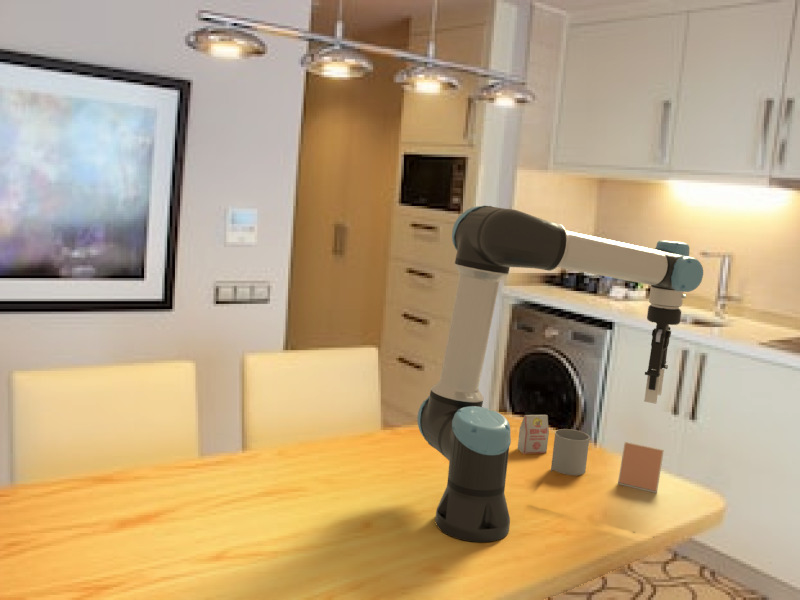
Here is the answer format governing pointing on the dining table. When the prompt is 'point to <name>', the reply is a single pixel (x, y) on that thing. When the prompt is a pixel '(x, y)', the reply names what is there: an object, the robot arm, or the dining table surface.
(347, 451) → the dining table surface
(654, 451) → the tile
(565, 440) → the cup
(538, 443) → the white printed box
